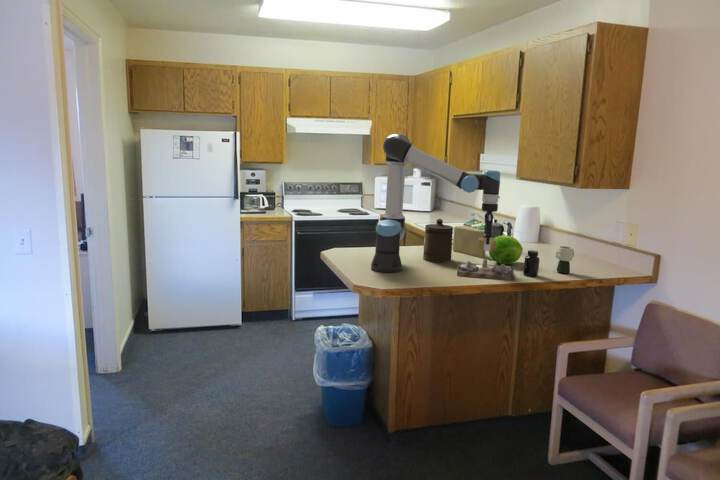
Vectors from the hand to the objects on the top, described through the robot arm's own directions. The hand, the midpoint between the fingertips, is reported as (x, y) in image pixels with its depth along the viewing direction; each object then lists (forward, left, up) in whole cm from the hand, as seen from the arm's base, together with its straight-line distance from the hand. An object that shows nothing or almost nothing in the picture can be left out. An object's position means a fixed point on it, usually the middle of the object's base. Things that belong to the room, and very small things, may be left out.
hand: (486, 248), depth 251 cm
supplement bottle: (+22, 0, -12) cm, 25 cm away
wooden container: (-24, +18, -12) cm, 32 cm away
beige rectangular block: (-6, +39, -12) cm, 41 cm away
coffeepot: (+8, +57, -12) cm, 59 cm away
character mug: (+39, +11, -12) cm, 42 cm away
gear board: (0, -3, -11) cm, 12 cm away
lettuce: (+12, +22, -12) cm, 28 cm away
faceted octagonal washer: (0, 0, 0) cm, 0 cm away
